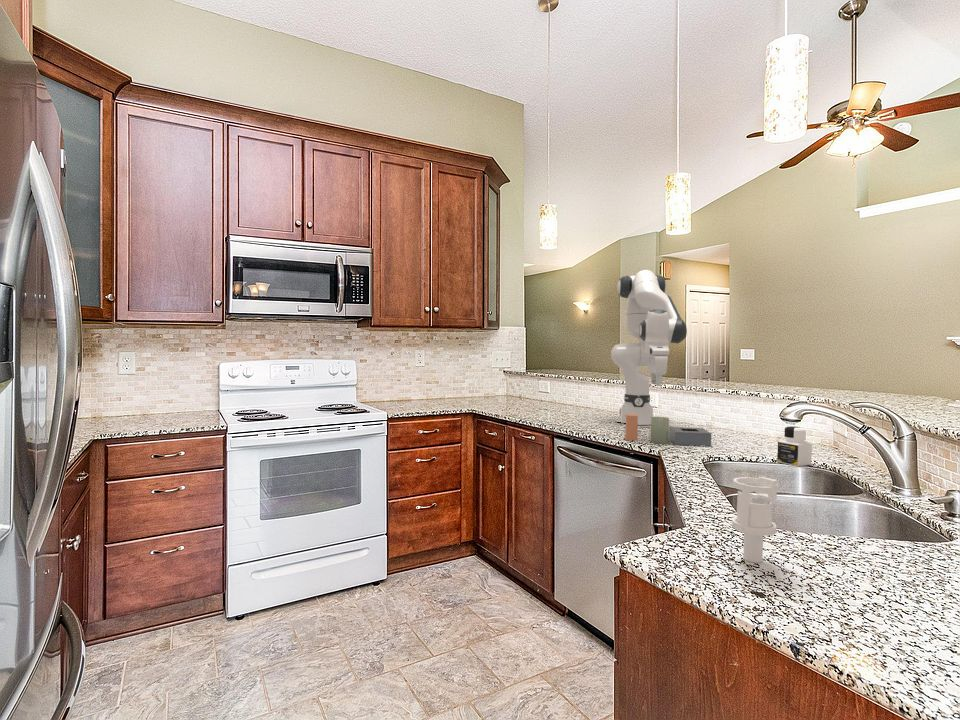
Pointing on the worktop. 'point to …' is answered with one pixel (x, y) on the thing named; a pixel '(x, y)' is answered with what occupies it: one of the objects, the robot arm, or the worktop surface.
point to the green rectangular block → (659, 430)
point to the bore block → (689, 436)
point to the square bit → (631, 427)
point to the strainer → (755, 514)
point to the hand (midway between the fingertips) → (656, 385)
